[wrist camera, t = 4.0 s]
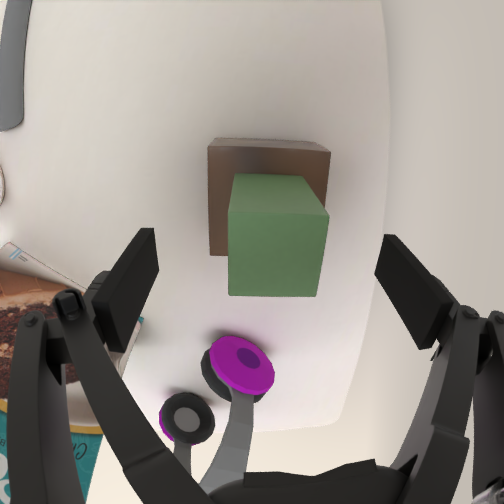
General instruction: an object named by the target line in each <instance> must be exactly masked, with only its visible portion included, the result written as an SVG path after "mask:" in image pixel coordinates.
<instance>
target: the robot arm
mask: <svg viewBox="0 0 504 504" xmlns="http://www.w3.org/2000/svg"><path fill="white" fill-rule="evenodd" d="M158 272H159V265H158V258H157V251H156V243H155V235H154V228H141V229H140V230H139V231H138V233H137V234H136V235H135V237H134V238H133V239H132V241H131V242H130V244H129V245H128V246H127V248H126V249H125V251H124V252H123V253H122V255H121V256H120V258H119V259H118V261H117V262H116V263H115V265H114V266H113V268H112V269H111V271H103V272H101V273H100V274H98V275H97V276H96V277H95V278H94V280H93V281H92V284H90V286H89V287H88V289H87V290H86V291H85V293H84V294H83V296H82V294H81V292H80V290H78V289H76V288H68V289H64V290H62V291H60V292H58V293H57V294H56V295H55V296H54V297H53V299H52V304H53V307H54V309H55V312H56V314H57V317H58V318H51V319H45V317H44V315H43V313H42V312H41V311H38V310H33V311H30V312H27V313H25V314H24V315H23V316H22V317H21V318H20V320H19V323H18V327H17V332H16V337H15V343H14V349H13V355H12V362H11V369H10V378H9V387H8V400H7V423H6V442H7V464H8V476H9V486H10V493H11V498H10V504H85V500H84V497H83V493H82V489H81V485H80V481H79V476H78V472H77V467H76V462H75V456H74V451H73V445H72V439H71V432H70V424H69V415H68V405H67V393H66V376H65V364H70V363H73V365H74V368H75V370H76V373H77V376H78V378H79V381H80V383H81V386H82V388H83V390H84V393H85V395H86V397H87V400H88V402H89V404H90V406H91V409H92V411H93V413H94V415H95V417H96V419H97V421H98V423H99V425H100V427H101V429H102V431H103V433H104V435H105V437H106V439H107V441H108V443H109V444H110V446H111V448H112V450H113V452H114V453H115V455H116V457H117V459H118V460H119V462H120V464H121V466H122V468H123V473H124V475H125V477H126V478H127V480H128V481H129V483H130V485H131V486H132V488H133V489H134V491H135V492H136V493H137V495H138V496H139V498H140V499H141V501H142V502H143V504H451V501H452V499H453V496H454V493H455V491H456V488H457V485H458V482H459V479H460V476H461V473H462V470H463V467H464V463H465V459H466V456H467V453H468V449H469V444H470V440H469V438H466V437H464V434H465V430H466V426H467V421H468V416H469V412H470V407H471V401H472V396H473V411H474V460H473V477H472V481H473V482H472V494H473V501H472V504H504V314H503V313H502V312H499V311H492V312H491V313H490V315H489V317H488V318H482V317H480V316H479V314H478V313H477V311H476V310H474V309H473V308H471V307H469V306H466V305H460V304H459V303H458V301H457V300H456V299H455V298H454V296H453V295H452V294H451V293H450V292H449V290H448V289H447V288H446V287H445V286H444V284H443V283H442V282H441V281H440V280H439V279H437V278H436V277H435V276H433V275H431V274H430V273H429V271H428V270H427V269H426V268H425V267H424V266H423V265H422V263H421V262H420V261H419V260H418V259H417V258H416V257H415V256H414V254H413V253H412V252H411V251H410V250H409V249H408V248H407V247H406V246H405V245H404V244H403V242H401V240H400V239H399V238H398V237H397V236H396V235H390V234H384V238H383V242H382V246H381V250H380V254H379V258H378V262H377V266H376V269H375V273H374V275H375V276H376V278H377V279H378V281H379V282H380V284H381V286H382V287H383V289H384V290H385V292H386V294H387V295H388V297H389V299H390V300H391V302H392V304H393V305H394V307H395V309H396V310H397V312H398V314H399V315H400V317H401V319H402V320H403V322H404V324H405V326H406V327H407V329H408V331H409V332H410V334H411V336H412V338H413V340H414V342H415V343H416V345H417V347H418V349H419V350H422V349H429V348H432V346H433V344H434V342H435V340H436V339H437V340H438V342H439V343H440V344H439V346H438V348H437V350H436V351H435V353H434V355H433V357H432V358H431V361H433V364H432V367H431V371H430V374H429V377H428V380H427V383H426V386H425V389H424V392H423V395H422V398H421V401H420V403H419V406H418V409H417V411H416V414H415V416H414V419H413V421H412V424H411V426H410V429H409V431H408V433H407V435H406V438H405V440H404V442H403V444H402V447H401V449H400V451H399V453H398V455H397V457H396V459H395V460H394V462H393V463H392V464H391V466H390V467H385V466H378V465H376V463H375V459H370V460H365V461H360V462H355V463H349V464H344V465H342V466H340V467H337V468H335V469H332V470H330V471H327V472H324V473H322V474H319V475H316V476H306V475H298V474H291V473H284V472H244V474H243V479H239V480H234V481H231V482H228V483H226V484H223V485H221V486H219V487H217V488H216V489H214V490H212V491H211V492H210V493H208V494H207V493H206V492H205V491H204V490H203V489H202V488H201V487H200V486H199V485H198V483H197V482H196V481H195V480H194V479H193V478H192V476H191V475H190V474H189V473H188V472H187V470H186V469H185V468H184V467H183V466H182V464H181V463H180V462H179V461H178V459H177V458H176V457H175V455H174V454H173V453H172V452H171V451H170V449H169V448H167V447H166V446H165V444H164V443H163V442H162V440H161V439H160V438H159V436H158V435H157V434H156V432H155V431H154V429H153V428H152V426H151V425H150V423H149V422H148V420H147V419H146V417H145V416H144V414H143V413H142V411H141V410H140V408H139V407H138V405H137V403H136V402H135V400H134V399H133V397H132V395H131V394H130V392H129V390H128V389H127V387H126V385H125V384H124V382H123V380H122V378H121V377H120V375H119V373H118V371H117V369H116V368H115V366H114V364H113V362H112V360H111V358H110V356H109V355H108V353H107V351H106V349H105V347H104V344H105V342H106V345H107V347H108V350H109V351H110V352H117V353H125V352H126V349H127V346H128V344H129V341H130V339H131V336H132V334H133V331H134V329H135V326H136V324H137V321H138V319H139V316H140V314H141V312H142V309H143V307H144V304H145V302H146V300H147V297H148V295H149V293H150V290H151V288H152V286H153V284H154V281H155V279H156V277H157V275H158ZM491 355H492V357H491ZM433 359H434V360H433Z"/></svg>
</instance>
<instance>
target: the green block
mask: <svg viewBox="0 0 504 504" xmlns="http://www.w3.org/2000/svg"><path fill="white" fill-rule="evenodd" d="M328 224H329V215H328V213H327V212H326V210H325V208H324V207H323V205H322V204H321V202H320V201H319V199H318V198H317V197H316V195H315V194H314V192H313V191H312V189H311V188H310V186H309V185H308V183H307V182H306V181H305V179H304V178H303V176H295V175H276V174H249V173H235V176H234V181H233V187H232V193H231V198H230V204H229V210H228V294H229V296H268V297H315V296H316V293H317V288H318V283H319V277H320V272H321V266H322V261H323V255H324V249H325V243H326V237H327V230H328Z"/></svg>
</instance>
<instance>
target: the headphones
mask: <svg viewBox="0 0 504 504" xmlns="http://www.w3.org/2000/svg"><path fill="white" fill-rule="evenodd" d="M201 369H202V375H203V377H204V378H205V380H206V382H207V383H208V385H209V387H210V388H211V389H212V390H213V391H214V392H215V393H216V394H217V395H219V396H220V397H221V398H223V399H225V400H227V401H230V402H231V408H230V415H229V421H228V424H227V427H226V430H225V432H224V435H223V438H222V441H221V444H220V446H219V448H218V450H217V453H216V455H215V457H214V459H213V461H212V463H211V465H210V467H209V468H208V470H207V472H206V473H205V475H204V477H203V478H202V480H201V482H200V483H199V484H198V485H199V486H200V487H201V488H202V489H203V490H204V491H205V492H206V493H207V494H208V493H210V492H211V491H212V490H214V489H216V488H217V487H219V486H221V485H223V484H226V483H228V482H231V481H234V480H239V479H243V474H244V472H246V467H247V461H248V455H249V450H250V444H251V438H252V432H253V403H256V402H258V401H259V400H261V398H262V397H263V396H264V395H265V393H266V392H267V391H268V390H269V389H270V388H271V386H272V385H273V383H274V376H275V372H274V369H273V366H272V363H271V362H270V360H269V359H268V358H267V356H266V355H265V354H264V352H262V351H261V350H260V349H259V348H258V347H257V346H255V345H254V344H252V343H250V342H249V341H247V340H245V339H243V338H239V337H235V336H224V337H222V338H220V339H218V340H217V341H215V342H214V343H212V346H211V348H210V349H208V350H207V351H205V353H204V356H203V358H202V361H201ZM159 424H160V426H161V429H162V431H163V433H164V434H165V435H166V436H167V437H168V438H169V439H170V440H172V441H173V442H174V445H175V447H174V453H173V454H174V455H175V457H176V458H177V459H178V461H179V462H180V463H181V464H182V466H183V467H184V468H185V469H186V470H187V472H188V473H189V474H190V475H191V446H193V445H196V444H199V443H201V442H204V441H206V440H207V439H208V438H209V437H210V436H211V435H212V434H213V431H214V428H215V418H214V415H213V413H212V411H211V409H210V407H209V406H208V405H207V404H206V403H205V402H204V401H203V400H202V399H200V398H198V397H197V396H195V395H192V394H187V393H180V394H175V395H173V396H171V397H170V398H169V399H167V400H166V401H165V403H164V405H163V406H162V408H161V410H160V412H159Z"/></svg>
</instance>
